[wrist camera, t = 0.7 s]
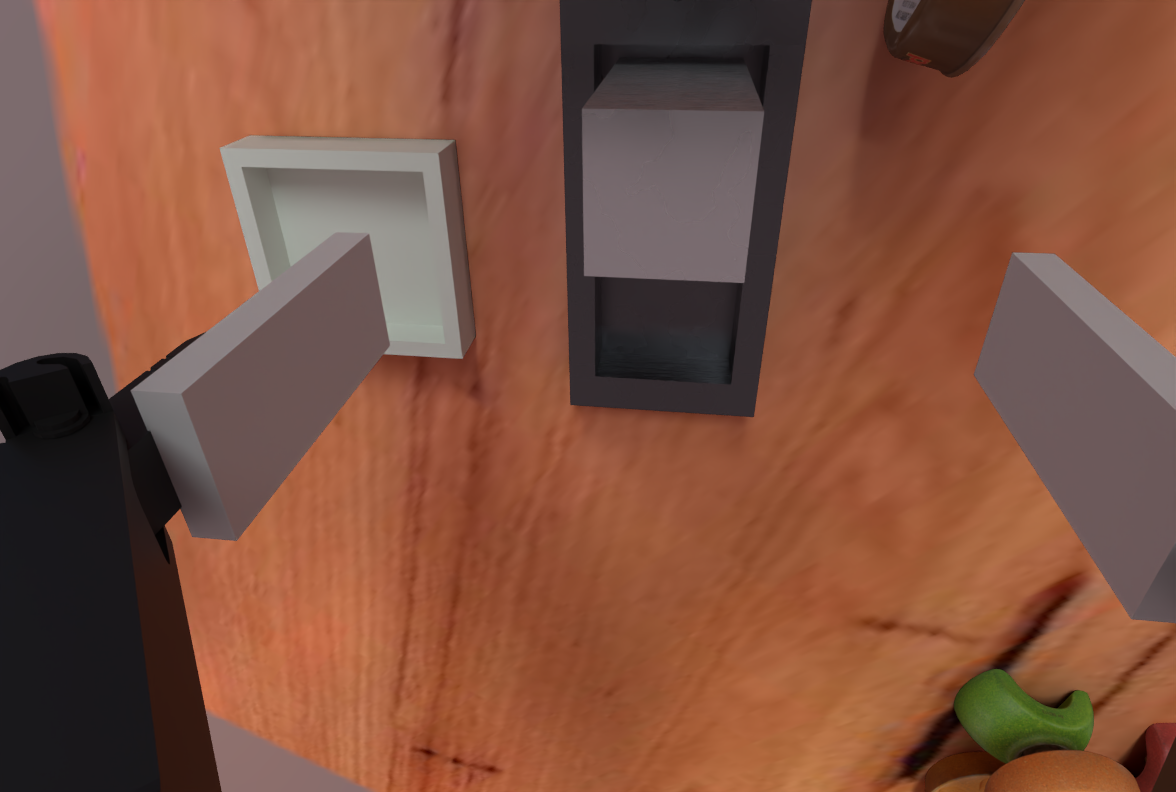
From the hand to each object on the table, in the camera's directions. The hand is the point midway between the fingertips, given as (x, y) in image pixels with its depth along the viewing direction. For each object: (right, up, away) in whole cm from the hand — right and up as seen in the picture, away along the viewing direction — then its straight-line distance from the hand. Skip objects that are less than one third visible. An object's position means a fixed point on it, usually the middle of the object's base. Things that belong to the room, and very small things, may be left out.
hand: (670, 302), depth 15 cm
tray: (-13, +6, +20) cm, 25 cm away
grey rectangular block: (+2, +10, +15) cm, 18 cm away
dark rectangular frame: (+2, +6, +18) cm, 19 cm away
